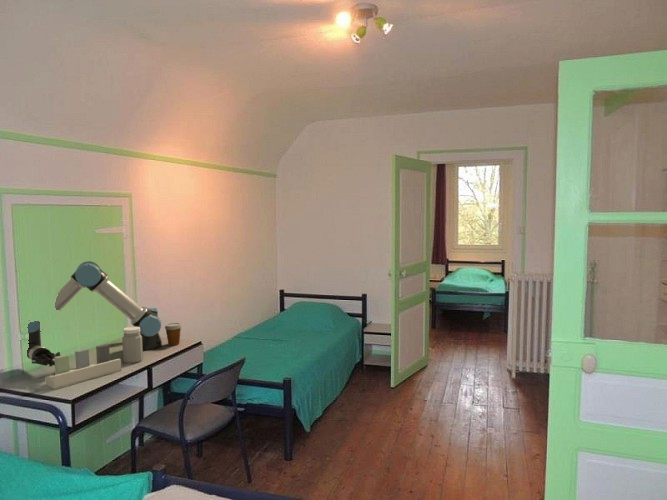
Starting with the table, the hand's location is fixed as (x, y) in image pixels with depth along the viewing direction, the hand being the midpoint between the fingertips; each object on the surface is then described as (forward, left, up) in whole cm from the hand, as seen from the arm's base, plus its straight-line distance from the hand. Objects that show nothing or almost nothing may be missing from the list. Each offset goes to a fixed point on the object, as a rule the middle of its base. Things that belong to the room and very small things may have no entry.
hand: (59, 364), depth 219 cm
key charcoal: (-19, -7, -8) cm, 22 cm away
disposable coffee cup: (-60, -36, -9) cm, 71 cm away
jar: (-34, -15, -9) cm, 39 cm away
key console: (-10, -2, -9) cm, 14 cm away
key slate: (-10, -4, -8) cm, 13 cm away
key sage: (-1, +2, -8) cm, 8 cm away
